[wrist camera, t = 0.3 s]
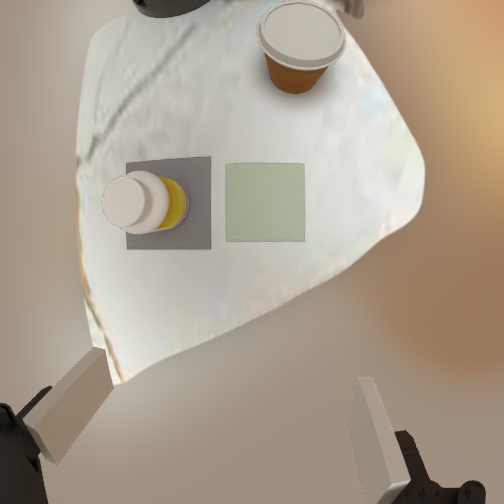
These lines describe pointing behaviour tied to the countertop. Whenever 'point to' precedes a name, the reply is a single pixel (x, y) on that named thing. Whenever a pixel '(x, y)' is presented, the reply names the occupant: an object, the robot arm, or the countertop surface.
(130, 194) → the supplement bottle
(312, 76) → the disposable coffee cup
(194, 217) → the mat
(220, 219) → the countertop surface
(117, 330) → the countertop surface
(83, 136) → the countertop surface
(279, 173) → the mat
